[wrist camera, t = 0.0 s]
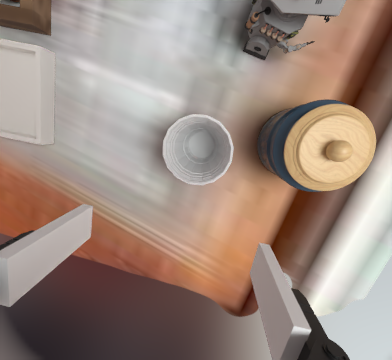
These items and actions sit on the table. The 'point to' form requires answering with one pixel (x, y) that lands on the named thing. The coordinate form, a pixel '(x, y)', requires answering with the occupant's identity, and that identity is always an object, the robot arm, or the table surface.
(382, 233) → the table surface
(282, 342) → the robot arm
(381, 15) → the table surface
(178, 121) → the plastic cup
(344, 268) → the table surface
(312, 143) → the canister
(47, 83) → the plastic tray
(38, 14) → the walnut holder
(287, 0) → the figurine
